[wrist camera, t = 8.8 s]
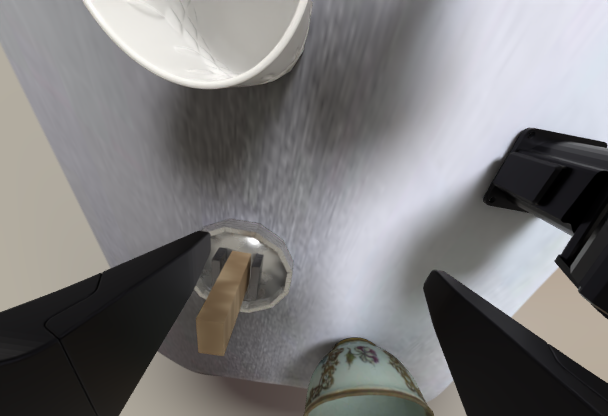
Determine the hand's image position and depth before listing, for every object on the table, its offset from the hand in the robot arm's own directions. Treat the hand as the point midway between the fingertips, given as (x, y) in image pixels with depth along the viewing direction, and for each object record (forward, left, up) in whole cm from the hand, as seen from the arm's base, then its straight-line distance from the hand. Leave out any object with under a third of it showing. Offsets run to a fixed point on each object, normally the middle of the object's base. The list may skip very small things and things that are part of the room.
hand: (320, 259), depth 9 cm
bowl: (-10, +24, -12) cm, 29 cm away
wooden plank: (+6, +12, -11) cm, 18 cm away
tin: (+6, +12, -12) cm, 18 cm away
